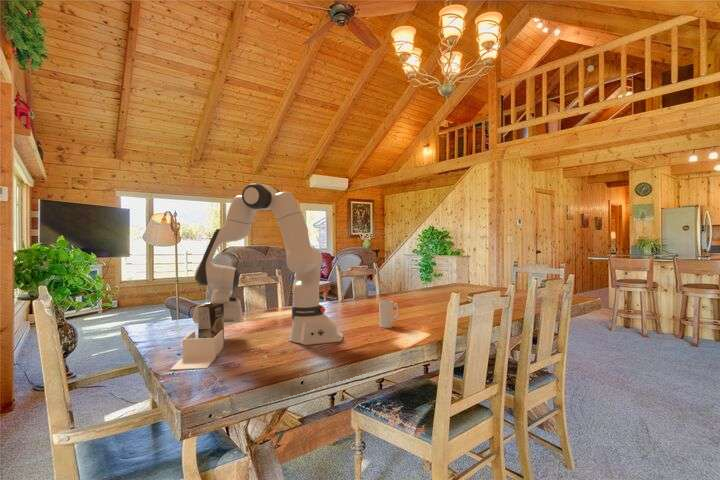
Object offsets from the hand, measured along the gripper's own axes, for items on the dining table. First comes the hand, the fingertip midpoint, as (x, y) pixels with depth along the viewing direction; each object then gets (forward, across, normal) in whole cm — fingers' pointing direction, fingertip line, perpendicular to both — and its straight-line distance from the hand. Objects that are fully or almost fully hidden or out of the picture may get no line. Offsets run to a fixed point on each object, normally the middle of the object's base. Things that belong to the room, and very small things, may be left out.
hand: (215, 330), depth 164 cm
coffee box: (+7, 0, -1) cm, 7 cm away
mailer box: (+19, 0, -13) cm, 23 cm away
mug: (-7, +77, +13) cm, 78 cm away
